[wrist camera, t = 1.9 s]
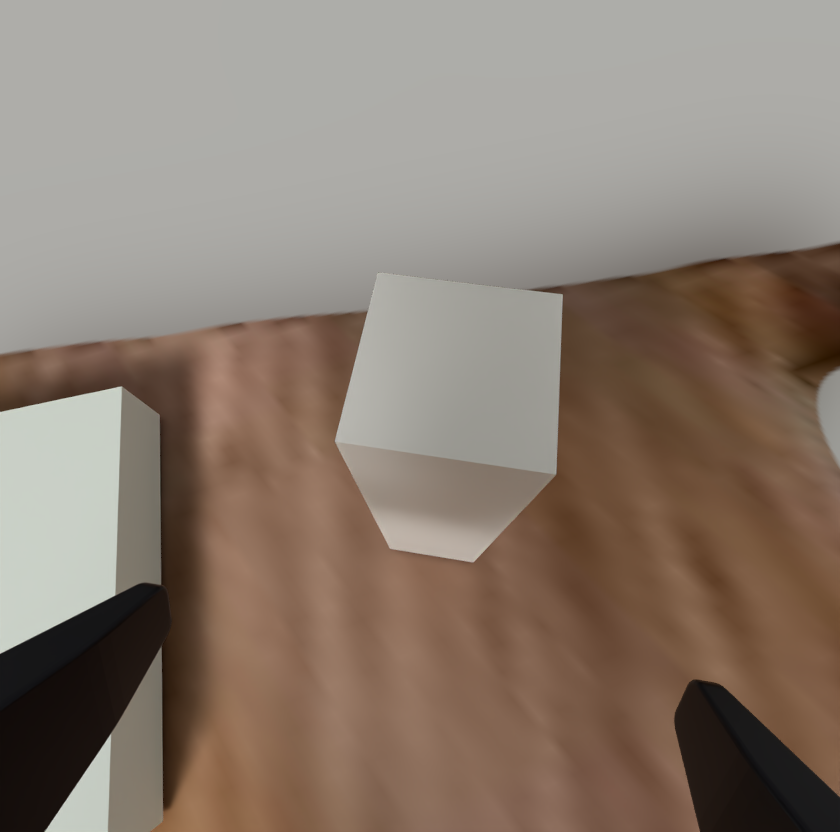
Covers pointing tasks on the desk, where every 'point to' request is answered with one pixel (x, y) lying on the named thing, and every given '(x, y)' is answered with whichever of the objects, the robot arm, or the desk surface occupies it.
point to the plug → (452, 410)
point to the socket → (87, 569)
